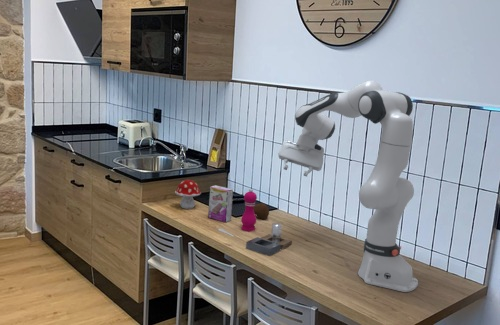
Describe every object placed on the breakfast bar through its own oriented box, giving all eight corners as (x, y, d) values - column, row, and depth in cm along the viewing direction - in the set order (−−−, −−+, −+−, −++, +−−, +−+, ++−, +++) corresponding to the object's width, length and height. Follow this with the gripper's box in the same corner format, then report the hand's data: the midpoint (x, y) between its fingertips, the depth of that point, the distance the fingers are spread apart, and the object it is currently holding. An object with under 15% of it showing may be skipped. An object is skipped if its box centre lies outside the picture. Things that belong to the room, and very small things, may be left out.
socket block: (280, 250, 219) (280, 243, 218) (269, 255, 212) (270, 249, 212) (256, 243, 226) (257, 237, 225) (246, 248, 219) (246, 241, 218)
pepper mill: (254, 232, 240) (257, 191, 236) (239, 230, 241) (241, 189, 237) (257, 228, 247) (260, 187, 243) (242, 226, 248) (245, 186, 244)
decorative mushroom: (205, 206, 277) (206, 179, 274) (191, 212, 264) (193, 184, 261) (182, 202, 282) (184, 175, 279) (169, 208, 270) (170, 180, 267)
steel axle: (281, 243, 228) (283, 224, 226) (276, 246, 224) (278, 226, 223) (273, 241, 230) (275, 222, 228) (269, 243, 226) (270, 224, 225)
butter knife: (221, 228, 243) (216, 229, 241) (254, 243, 225) (248, 245, 223) (221, 229, 243) (216, 230, 241) (253, 244, 225) (248, 246, 223)
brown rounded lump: (263, 221, 258) (264, 206, 256) (249, 216, 264) (250, 201, 263) (272, 219, 263) (273, 204, 262) (258, 214, 270) (259, 199, 268)
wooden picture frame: (291, 244, 227) (292, 240, 227) (282, 249, 220) (282, 245, 220) (269, 238, 234) (269, 234, 233) (258, 242, 227) (259, 238, 226)
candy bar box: (207, 218, 257) (209, 186, 254) (213, 216, 261) (215, 184, 258) (225, 223, 251) (227, 190, 248) (231, 220, 255) (233, 189, 252)
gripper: (283, 136, 231) (272, 162, 225) (327, 149, 225) (316, 176, 220) (284, 143, 236) (273, 168, 231) (327, 156, 231) (316, 182, 225)
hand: (295, 172), depth 225 cm, fingers open, 8 cm apart
